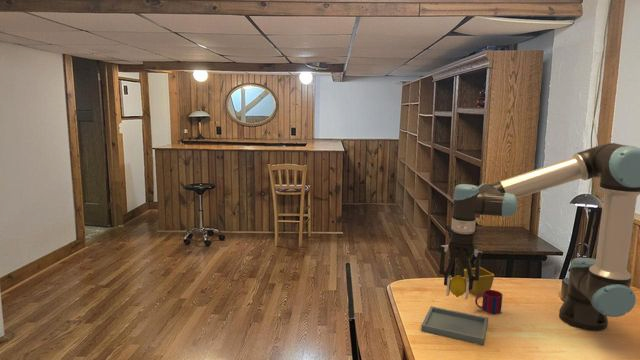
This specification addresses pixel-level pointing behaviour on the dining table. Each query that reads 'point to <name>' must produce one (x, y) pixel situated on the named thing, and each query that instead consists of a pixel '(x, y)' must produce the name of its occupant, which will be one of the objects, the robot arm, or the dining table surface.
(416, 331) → the dining table surface
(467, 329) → the tray
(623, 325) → the dining table surface
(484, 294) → the mug
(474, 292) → the flower pot
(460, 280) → the lemon
